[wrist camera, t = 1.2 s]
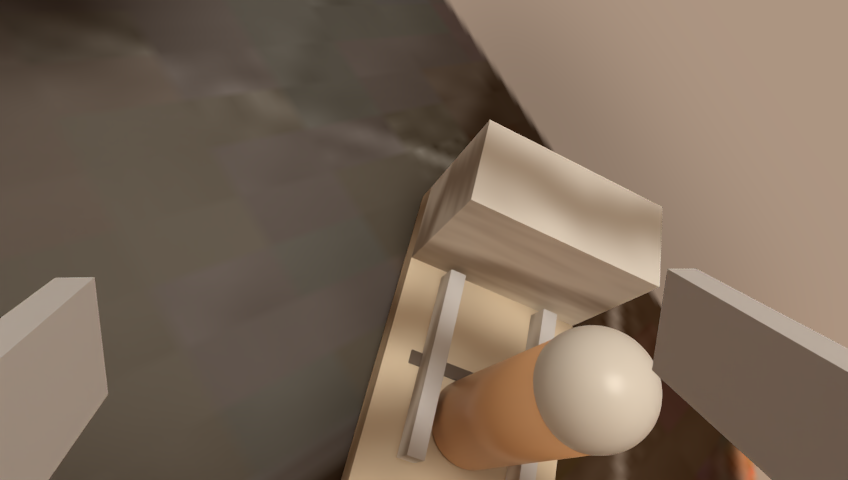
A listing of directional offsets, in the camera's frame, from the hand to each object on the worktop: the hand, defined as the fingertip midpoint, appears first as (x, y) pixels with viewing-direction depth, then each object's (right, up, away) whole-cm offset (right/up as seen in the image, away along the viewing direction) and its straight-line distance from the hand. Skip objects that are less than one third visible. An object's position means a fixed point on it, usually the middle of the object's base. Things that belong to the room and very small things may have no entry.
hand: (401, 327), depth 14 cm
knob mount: (+4, -6, +23) cm, 24 cm away
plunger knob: (+3, -8, +20) cm, 22 cm away
